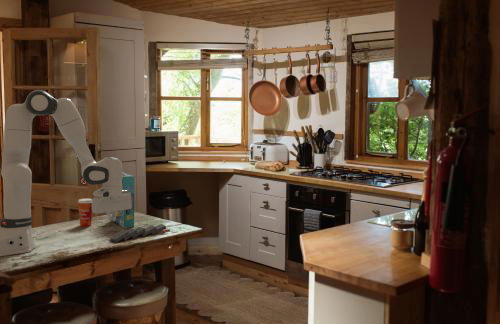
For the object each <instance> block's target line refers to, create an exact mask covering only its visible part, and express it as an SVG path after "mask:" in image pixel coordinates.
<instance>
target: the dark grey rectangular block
mask: <svg viewBox="0 0 500 324" xmlns="http://www.w3.org/2000/svg"><path fill="white" fill-rule="evenodd" d="M128 235H129V231H127V230H125V229H122V230H120V231H118V232H117V233H115V234H114V235H113V236H111V237H109V239H110V242H113V243H118V242H119V241H122V240H121V239H123V238H124V237H126V236H128Z"/></svg>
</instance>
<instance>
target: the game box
mask: <svg viewBox="0 0 500 324" xmlns="http://www.w3.org/2000/svg"><path fill="white" fill-rule="evenodd" d="M123 190H124V191H125V190H128V191H130V193H131V203H132V207H131V209H128V210H120V211H118V214H117V216H116V220H115V221H113V222H114V223H116V225H117V224H118V225H119V226H121V227H122V228H131V227H135V175H132V174H130V173H126V172H124V171H123V177H122V191H123ZM113 214H114V213H113V212H111V217H112V216H113Z"/></svg>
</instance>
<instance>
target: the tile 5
mask: <svg viewBox="0 0 500 324" xmlns="http://www.w3.org/2000/svg"><path fill="white" fill-rule="evenodd" d="M154 226H155V227H156V228H157V230H156V231H154V232H152V233H150V234H149V235H152V236H153V235H155V234H157V233H158V232H160V231H162V230H164V229H166V228H167V226H166V225H164V224H162V223H160V224H158V225H154ZM158 234H159V233H158Z"/></svg>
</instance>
